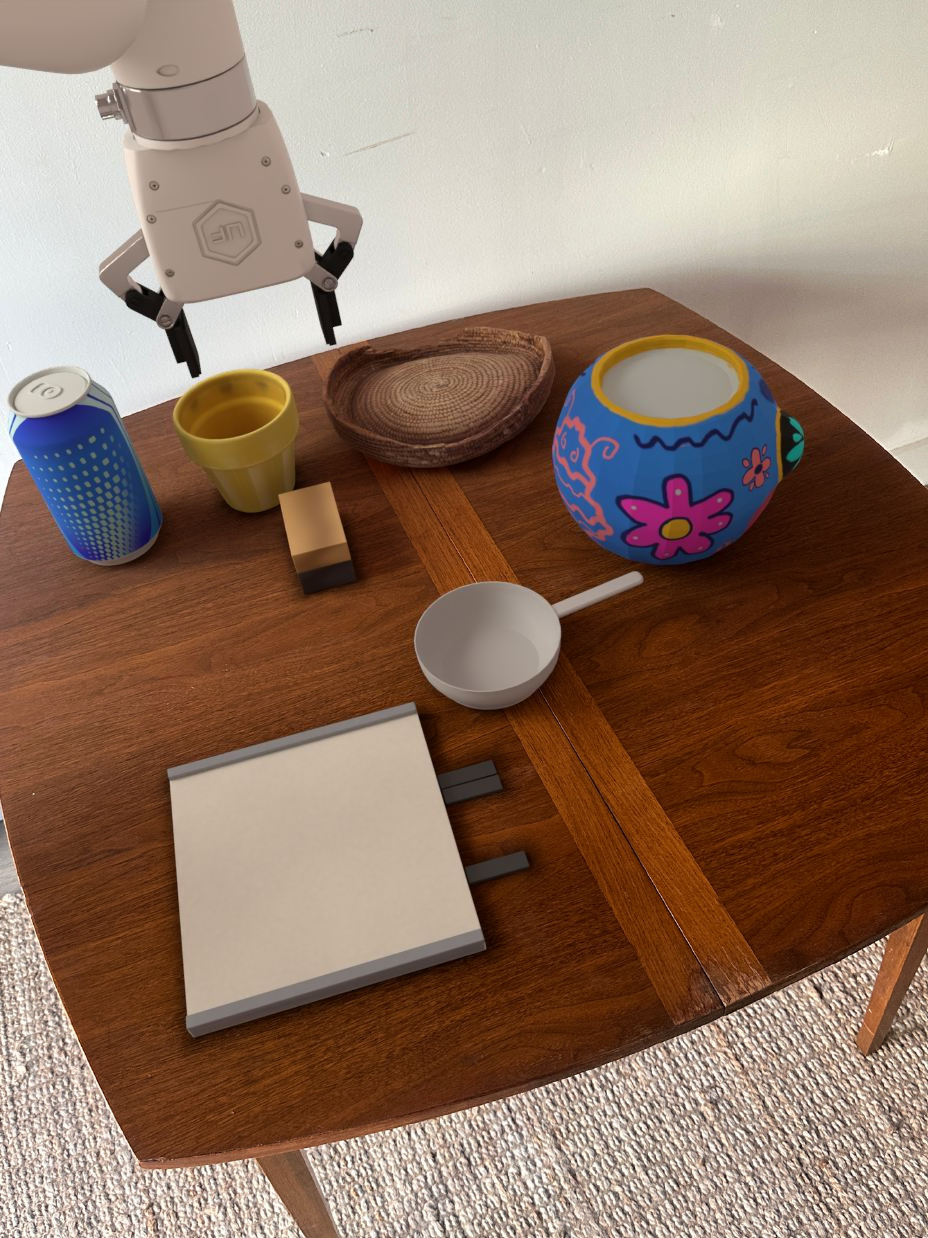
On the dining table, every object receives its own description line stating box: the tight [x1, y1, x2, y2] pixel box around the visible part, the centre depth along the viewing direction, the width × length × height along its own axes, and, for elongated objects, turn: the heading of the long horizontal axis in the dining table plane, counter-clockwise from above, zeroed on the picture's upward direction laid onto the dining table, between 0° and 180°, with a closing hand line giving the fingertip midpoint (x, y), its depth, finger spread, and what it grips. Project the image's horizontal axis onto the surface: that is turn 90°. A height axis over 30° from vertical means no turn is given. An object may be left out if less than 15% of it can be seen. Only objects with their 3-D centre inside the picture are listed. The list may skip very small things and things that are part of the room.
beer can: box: [6, 365, 163, 567], centre depth 85 cm, size 8×8×16 cm
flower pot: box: [172, 368, 300, 514], centre depth 90 cm, size 10×10×10 cm
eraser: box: [278, 481, 357, 595], centre depth 85 cm, size 4×8×4 cm, turn 15°
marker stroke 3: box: [464, 850, 530, 886], centre depth 65 cm, size 4×1×1 cm, turn 104°
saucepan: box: [413, 570, 644, 711], centre depth 76 cm, size 11×18×4 cm, turn 112°
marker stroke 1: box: [436, 759, 498, 791], centre depth 71 cm, size 4×1×1 cm, turn 105°
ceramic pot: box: [551, 334, 806, 566], centre depth 80 cm, size 18×18×15 cm
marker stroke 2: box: [441, 774, 504, 807], centre depth 70 cm, size 4×1×1 cm, turn 104°
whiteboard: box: [167, 701, 487, 1038], centre depth 67 cm, size 18×19×1 cm
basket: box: [321, 326, 556, 469], centre depth 97 cm, size 22×20×5 cm
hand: (262, 351), depth 72 cm, fingers open, 9 cm apart
